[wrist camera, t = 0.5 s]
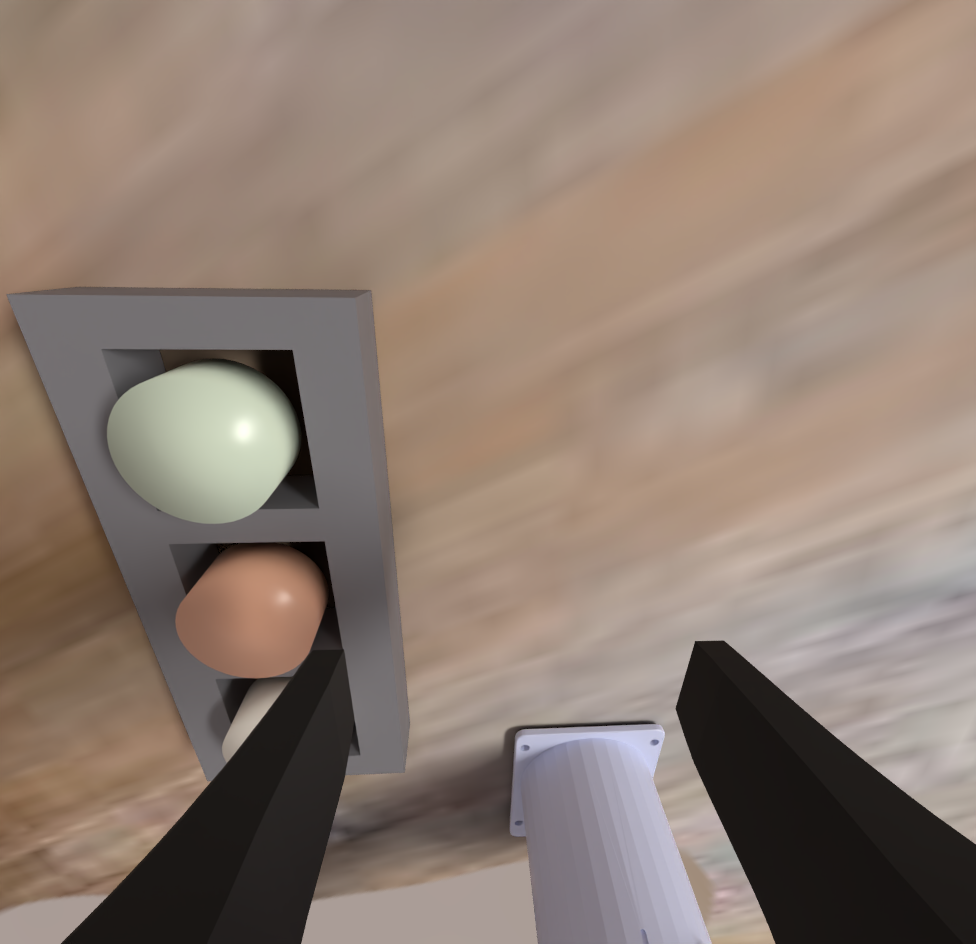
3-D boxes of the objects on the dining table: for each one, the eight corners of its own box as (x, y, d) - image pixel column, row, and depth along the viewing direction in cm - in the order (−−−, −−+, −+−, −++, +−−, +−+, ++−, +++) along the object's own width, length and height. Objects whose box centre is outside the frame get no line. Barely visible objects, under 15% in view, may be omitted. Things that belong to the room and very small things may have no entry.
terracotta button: (336, 630, 19) (321, 676, 17) (223, 633, 18) (194, 680, 16) (320, 539, 17) (301, 578, 15) (194, 541, 16) (157, 582, 14)
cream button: (353, 735, 21) (343, 785, 19) (256, 739, 21) (236, 790, 19) (342, 667, 20) (329, 715, 18) (235, 671, 19) (209, 719, 17)
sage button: (311, 488, 16) (289, 522, 14) (178, 489, 16) (136, 525, 14) (288, 358, 14) (260, 377, 12) (136, 358, 14) (81, 377, 12)
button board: (410, 723, 24) (404, 772, 22) (231, 730, 24) (207, 781, 21) (371, 290, 15) (354, 297, 13) (77, 286, 14) (6, 294, 12)
